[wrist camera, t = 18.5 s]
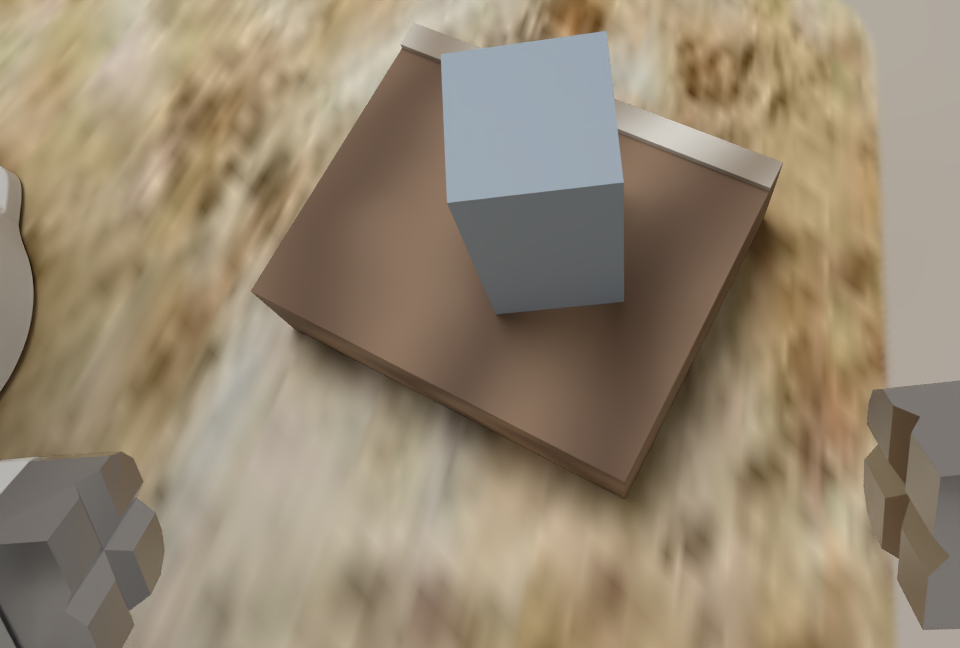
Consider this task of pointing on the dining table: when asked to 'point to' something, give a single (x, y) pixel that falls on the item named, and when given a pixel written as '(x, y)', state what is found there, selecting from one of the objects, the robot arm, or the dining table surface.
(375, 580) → the dining table surface
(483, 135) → the blue-grey rectangular block
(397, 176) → the dock
